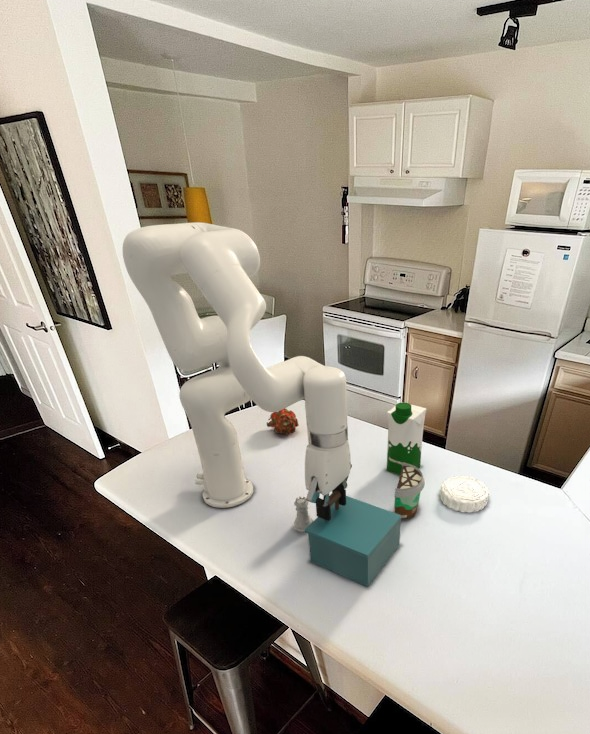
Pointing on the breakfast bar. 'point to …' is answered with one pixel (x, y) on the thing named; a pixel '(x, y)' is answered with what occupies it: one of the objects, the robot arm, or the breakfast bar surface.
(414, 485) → the food container
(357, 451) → the breakfast bar surface
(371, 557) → the teal hinged box
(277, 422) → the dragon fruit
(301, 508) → the rook chess piece
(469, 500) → the mooncake
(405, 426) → the milk carton
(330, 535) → the lid
